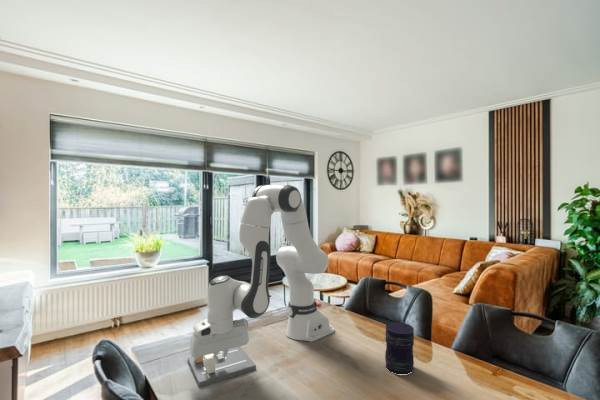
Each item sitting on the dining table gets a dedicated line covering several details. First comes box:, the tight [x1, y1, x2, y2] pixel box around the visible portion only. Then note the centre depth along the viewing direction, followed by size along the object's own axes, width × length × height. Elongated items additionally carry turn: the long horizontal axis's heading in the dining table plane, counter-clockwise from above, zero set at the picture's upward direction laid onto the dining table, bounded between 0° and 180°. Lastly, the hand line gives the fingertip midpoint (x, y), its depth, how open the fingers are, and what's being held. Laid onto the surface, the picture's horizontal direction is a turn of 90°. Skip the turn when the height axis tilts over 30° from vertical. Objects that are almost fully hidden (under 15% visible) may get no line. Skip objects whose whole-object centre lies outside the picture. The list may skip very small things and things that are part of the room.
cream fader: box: [204, 353, 216, 374], centre depth 109 cm, size 3×4×5 cm
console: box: [187, 346, 257, 388], centre depth 115 cm, size 20×18×2 cm
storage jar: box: [384, 321, 415, 375], centre depth 114 cm, size 10×10×15 cm
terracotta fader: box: [194, 356, 203, 363], centre depth 116 cm, size 3×4×5 cm
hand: (220, 362), depth 111 cm, fingers closed
